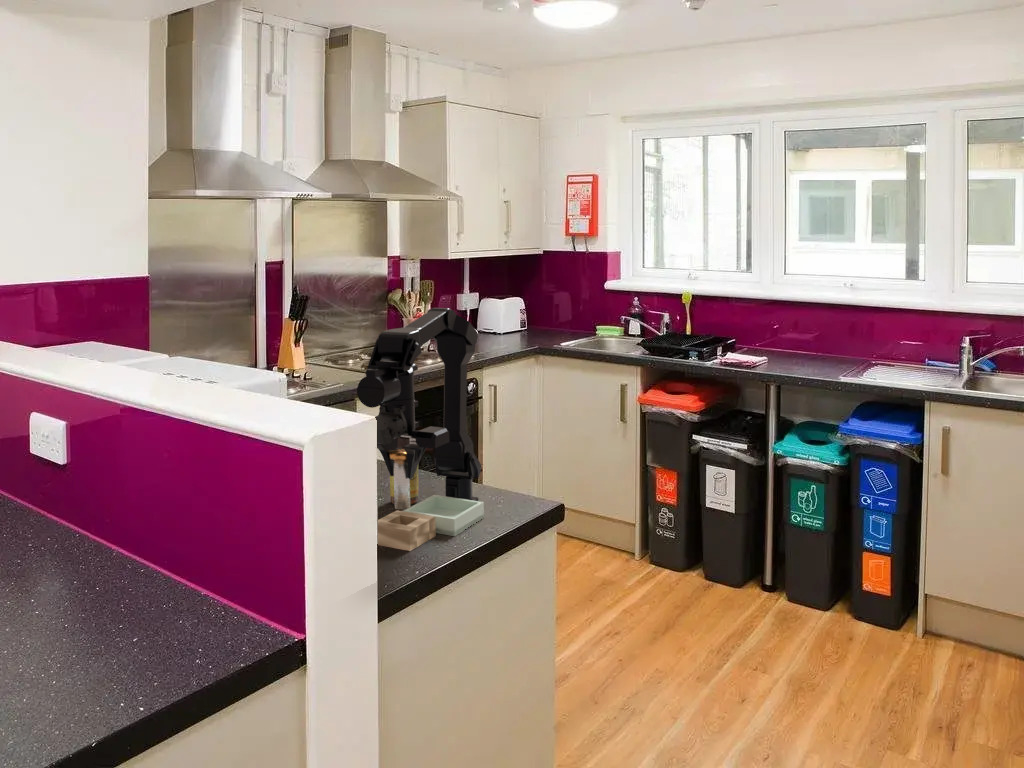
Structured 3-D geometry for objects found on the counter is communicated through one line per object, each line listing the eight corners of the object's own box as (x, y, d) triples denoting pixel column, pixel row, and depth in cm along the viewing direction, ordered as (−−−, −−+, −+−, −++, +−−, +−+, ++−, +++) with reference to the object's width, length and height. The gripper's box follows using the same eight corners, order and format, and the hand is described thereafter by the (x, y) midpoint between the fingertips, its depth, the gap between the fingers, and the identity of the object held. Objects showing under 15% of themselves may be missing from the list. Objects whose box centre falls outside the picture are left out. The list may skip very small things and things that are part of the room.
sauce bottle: (404, 508, 192) (402, 418, 188) (384, 503, 196) (381, 415, 192) (425, 501, 197) (423, 413, 194) (405, 496, 201) (402, 410, 197)
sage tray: (434, 510, 191) (434, 494, 190) (484, 518, 185) (483, 502, 185) (403, 527, 180) (403, 510, 179) (454, 536, 175) (454, 519, 174)
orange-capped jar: (399, 502, 175) (397, 448, 173) (418, 505, 173) (416, 450, 171) (386, 508, 171) (384, 453, 169) (405, 511, 169) (404, 455, 167)
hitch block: (397, 529, 179) (396, 510, 178) (435, 536, 175) (435, 516, 174) (371, 543, 171) (370, 523, 170) (410, 551, 167) (409, 530, 166)
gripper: (332, 401, 165) (336, 482, 168) (417, 409, 157) (420, 494, 159) (368, 390, 175) (371, 467, 178) (449, 398, 166) (451, 478, 169)
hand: (401, 477), depth 171 cm, fingers closed on orange-capped jar, 4 cm apart
